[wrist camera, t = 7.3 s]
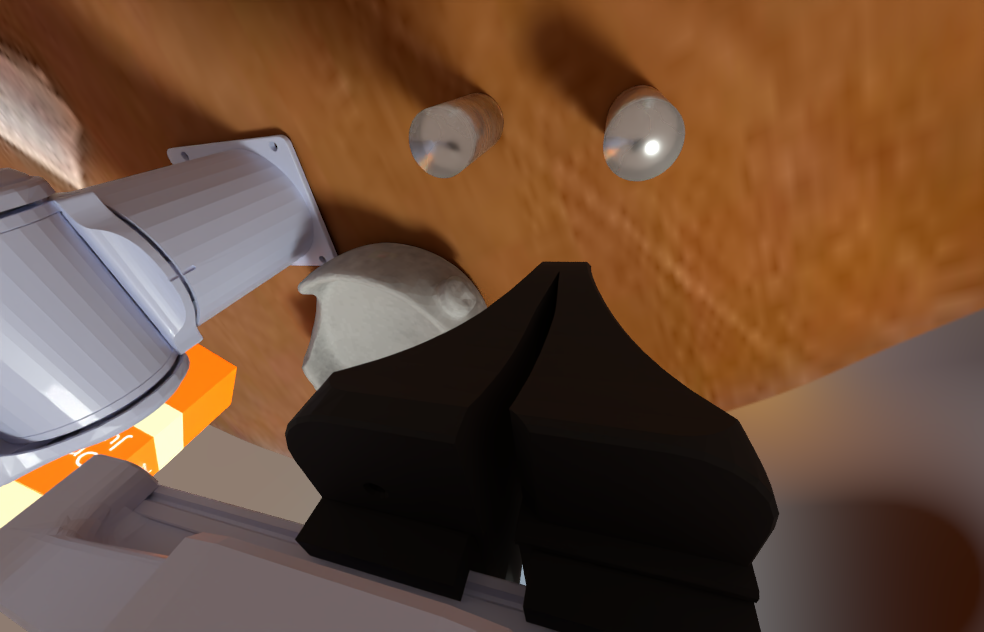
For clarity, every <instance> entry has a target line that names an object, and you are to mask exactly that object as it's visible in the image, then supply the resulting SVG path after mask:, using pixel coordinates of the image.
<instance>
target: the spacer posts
mask: <svg viewBox="0 0 984 632" xmlns="http://www.w3.org/2000/svg"><path fill="white" fill-rule="evenodd" d="M503 125H504V120H503V115H502V111H501V109H500V107H499V105H498V104H497V102H496V101H495V100H494V99H493V98H491V97H490V96H488V95H486V94H483V93H473V94H470V95H466V96H463V97H460V98H457V99H454V100H451V101H448V102H445V103H442V104H439V105H435V106H432V107H429V108H426V109H424V110H422V111H421V112H420V113H418V114H417V115H416V117H415V118H414V120H413V121H412V124H411V127H410V131H409V144H410V149H411V152H412V154H413V157H414V158H415V160H416V162H417V163H418V164H419V166H420V167H421V168H422V169H423V170H424V171H426V172H427V173H429V174H430V175H432V176H435V177H438V178H449V177H453V176H455V175H457V174H458V173H460V172H461V171H462V170H463V169H465V168H466V167H467V166H468V165H470V164H471V163H472V162H473V161H475V160H476V159H477V158H478V157H480V156H481V155H482V154H483V153H485V152H486V151H487V150H488V149H490V148H491V147H492V146H493V145H495V144H496V143H497V141H498V140H499V138H500V137H501V134H502V131H503ZM684 138H685V127H684V122H683V119H682V117H681V115H680V113H679V112H678V111H677V109H676V108H675V107H674V106H673V105H672V104H671V103H670V102H669V101H668V100H667V99H666V98H665V97H664V96H663V95H662V94H661V93H660V92H659V91H658V90H657V89H655V88H653V87H651V86H647V85H638V86H634V87H631V88H629V89H627V90H625V91H623V92H622V93H621V94H620V95H619V96H618V97H617V98H616V99H615V100H614V101H613V103H612V105H611V107H610V109H609V111H608V115H607V120H606V128H605V135H604V143H603V152H604V157H605V160H606V163H607V165H608V166H609V168H610V169H611V170H612V171H613V172H614V173H615V174H616V175H617V176H619V177H621V178H623V179H626V180H630V181H644V180H648V179H651V178H654V177H656V176H658V175H660V174H661V173H663V172H664V171H665V170H667V169H668V168H669V167H670V166H671V165H672V164H673V162H674V161H675V160H676V158H677V157H678V155H679V153H680V151H681V149H682V146H683V143H684Z"/></svg>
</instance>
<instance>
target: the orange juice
mask: <svg viewBox="0 0 984 632" xmlns="http://www.w3.org/2000/svg"><path fill="white" fill-rule="evenodd" d="M185 353H186V354H187V355H188V357H189V361H190V366H189V370H188V372H187V374H186V376H185V378H184V379H183V381H182V382H181V384H180V385H179V387H178V389H177V390H176V391H175V393H174V394H173V395H172V396H171V397H170V398H169V399H168V400H167V401H166V402H165V403H164V404H163V405H162V406H161V407H160V408H158V409H157V410H156V411H155V412H153V413H152V414H151V415H149V416H148V417H147V418H145V419H144V420H142V421H141V422H139V423H137V424H136V425H134V426H133V427H131V428H129V429H127V430H126V431H124V432H122V433H120V434H118V435H116V436H114V437H112V438H110V439H108V440H105V441H103V442H101V443H98V444H95V445H93V446H90V447H87V448H84V449H80V450H77V451H75V452H72V453H70V454H67V455H65V456H63V457H61V458H58V459H56V460H54V461H52V462H50V463H48V464H46V465H43V466H41V467H39V468H37V469H35V470H33V471H32V472H30V473H28V474H26V475H24V476H22V477H20V478H18V479H17V480H15V481H13V482H11V483H9V484H7V485H4V486H2V487H0V528H2V527H3V526H4V525H5V524H7V523H8V522H9V521H11V520H12V519H13V518H14V517H16V516H17V515H18V514H20V513H21V512H22V511H23V510H25V509H26V508H27V507H28V506H30V505H31V504H32V503H34V502H35V501H36V500H37V499H39V498H40V497H41V496H43V495H44V494H45V493H46V492H48V491H49V490H50V489H51V488H53V487H54V486H55V485H57V484H58V483H59V482H60V481H62V480H63V479H64V478H66V477H67V476H68V475H69V474H71V473H72V472H73V471H75V470H76V469H77V468H78V467H80V466H81V465H82V464H83V463H85V462H86V461H87V460H89V459H90V458H91V457H92V456H94V455H97V454H103V455H107V456H111V457H115V458H119V459H122V460H126V461H129V462H132V463H134V464H136V465H138V466H140V467H142V468H143V469H144V470H146V471H147V472H148V473H150V474H151V475H152V476H153V475H154V474H155V473H157V472H158V471H159V470H161V469H162V468H163V467H164V466H165V465H166V464H167V463H168V462H169V461H170V460H171V459H172V458H173V457H175V456H176V455H177V454H178V453H179V452H180V451H181V450H182V449H183V448H184V447H185V446H186V445H187V444H188V443H189V442H190V441H191V440H192V439H193V438H194V437H196V436H197V435H198V434H199V433H200V432H201V431H202V430H203V429H204V428H205V427H206V426H207V425H209V424H210V423H211V422H212V421H213V420H214V419H215V418H216V417H217V416H218V415H219V414H220V413H222V412H223V411H224V410H225V409H226V408H227V407H228V406H229V405H230V404H231V399H232V393H233V387H234V381H235V375H236V369H237V367H236V366H234V365H232V364H231V363H229V362H227V361H226V360H224V359H222V358H221V357H219V356H217V355H216V354H214V353H212V352H211V351H209V350H207V349H206V348H204V347H202V346H201V345H199V344H196V345H195V346H193V347H192V348H190V349H189V350H188V351H186V352H185Z"/></svg>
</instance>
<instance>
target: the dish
mask: <svg viewBox="0 0 984 632" xmlns="http://www.w3.org/2000/svg"><path fill="white" fill-rule="evenodd" d="M298 291H299V292H300V293H301V294H313V295H315V296H316V297H317V305H316V316H315V323H314V326H313V330H312V335H311V340H310V343H309V347H308V349H307V352H306V354H305V357H304V361H303V366H302V369H303V371H304V373H305V375H306V377H307V378H308V380H309V381H310V382H311V383H312V384H313V386H314V388H315V389H316V391H317V390H318V389H319V388H320V387H321V385H322V384H323V383H324V382H325V381H326V380H327V379H328V377H329V376H330V375H331V374H332V373H333V372H335V371H339V370H343V369H347V368H350V367H354V366H357V365H361V364H364V363H367V362H371V361H374V360H378V359H381V358H384V357H387V356H390V355H393V354H395V353H398V352H401V351H404V350H406V349H409V348H411V347H414V346H416V345H419V344H421V343H424V342H426V341H428V340H430V339H432V338H434V337H436V336H439V335H441V334H443V333H445V332H447V331H449V330H451V329H453V328H455V327H457V326H459V325H460V324H462V323H464V322H466V321H467V320H469V319H471V318H472V317H474V316H476V315H477V314H479V313H480V312H482V311H483V310H485V309H486V308H487V306H486V304H485V301H484V299H483V297H482V296H481V294H480V293H479V291H478V290H477V288H476V287H475V286H474V284H473V283H472V282H471V280H470V279H469V278H468V277H467V276H466V275H465V274H464V273H463V272H462V271H460V270H459V269H458V268H457V267H456V266H454V265H453V264H451V263H450V262H448V261H447V260H445V259H443V258H442V257H440V256H438V255H436V254H434V253H432V252H429V251H426V250H424V249H421V248H418V247H414V246H409V245H405V244H399V243H376V244H370V245H365V246H361V247H358V248H355V249H352V250H350V251H347V252H345V253H343V254H341V255H339V256H337V257H335V258H333V259H331V260H329V261H328V262H326V263H324V264H323V265H321V266H320V267H318V268H317V269H316V270H314V271H313V272H311V273H310V274H309V275H308V276H307V277H306V278H305V279H304V280H303V281H302V282H301V283H300V284H299V285H298Z"/></svg>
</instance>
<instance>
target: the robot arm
mask: <svg viewBox="0 0 984 632" xmlns="http://www.w3.org/2000/svg"><path fill="white" fill-rule="evenodd" d="M274 143H275V144H276V145H277V148H278V149H277V148H276V146H275V144H274ZM167 155H168V158H169V159H170V161H171V163H172V164H173V165H170V166H166V167H162V168H159V169H155V170H151V171H147V172H143V173H140V174H136V175H132V176H128V177H125V178H121V179H117V180H113V181H109V182H106V183H102V184H98V185H94V186H91V187H87V188H83V189H79V190H76V191H72V192H63V193H55V191H54V189H53V188H52V187H51V186H50V184H49V183H48V182H47V181H46V180H45V179H44V178H42V177H39V176H29V175H28V174H26V173H23V172H20V171H17V170H14V169H11V168H0V487H2V486H4V485H7V484H9V483H11V482H13V481H15V480H17V479H18V478H20V477H22V476H24V475H26V474H28V473H30V472H32V471H33V470H35V469H37V468H39V467H41V466H43V465H46V464H48V463H50V462H52V461H54V460H56V459H58V458H61V457H63V456H65V455H67V454H70V453H72V452H75V451H77V450H80V449H84V448H87V447H90V446H93V445H95V444H98V443H101V442H103V441H105V440H108V439H110V438H112V437H114V436H116V435H118V434H120V433H122V432H124V431H126V430H127V429H129V428H131V427H133V426H134V425H136V424H137V423H139V422H141V421H142V420H144V419H145V418H147V417H148V416H149V415H151V414H152V413H153V412H155V411H156V410H157V409H158V408H160V407H161V406H162V405H163V404H164V403H165V402H166V401H167V400H168V399H169V398H170V397H171V396H172V395H173V394H174V393H175V391H176V390H177V389H178V387H179V385H180V384H181V382H182V381H183V379H184V378H185V376H186V374H187V372H188V370H189V366H190V361H189V357H188V355H187V354H186V353H185V352H186V351H188V350H189V349H190V348H192V347H193V346H195V345H196V344H197V343H199V342H200V341H202V340H203V337H202V335H201V334H200V332H199V330H198V328H197V327H198V326H200V325H201V324H203V323H204V322H206V321H207V320H209V319H210V318H212V317H213V316H215V315H216V314H218V313H219V312H221V311H222V310H224V309H225V308H227V307H228V306H230V305H231V304H233V303H234V302H236V301H237V300H239V299H240V298H242V297H243V296H245V295H246V294H248V293H249V292H251V291H252V290H254V289H255V288H257V287H258V286H260V285H261V284H263V283H264V282H266V281H267V280H269V279H270V278H272V277H273V276H275V275H276V274H278V273H279V272H281V271H282V270H284V269H285V268H287V267H288V266H290V265H301V266H321V265H323V264H324V263H326V262H328V261H329V260H331V259H333V258H335V257H337V253H336V251H335V248H334V246H333V243H332V241H331V238H330V236H329V234H328V231H327V229H326V226H325V224H324V221H323V219H322V216H321V214H320V211H319V209H318V207H317V204H316V202H315V199H314V197H313V194H312V192H311V189H310V187H309V184H308V182H307V180H306V177H305V175H304V172H303V170H302V167H301V165H300V162H299V160H298V157H297V155H296V153H295V150H294V148H293V145H292V143H291V141H290V140H289V139H288V138H287V137H286V136H284V135H274V136H266V137H257V138H249V139H241V140H232V141H224V142H216V143H207V144H199V145H191V146H182V147H174V148H170V149H168V150H167ZM324 258H325V259H326V260H325V259H324ZM285 436H286V441H287V446H288V450H289V451H290V453H291V455H292V456H293V458H294V460H295V461H296V462H297V464H298V465H299V466H300V468H301V469H302V471H303V472H304V473H305V474H306V476H307V477H308V479H309V480H310V481H311V482H312V484H313V485H314V487H315V488H316V489H317V491H318V492H319V493H320V495H321V496H322V499H321V500H320V502H319V503H318V505H317V506H316V508H315V509H314V511H313V513H312V514H311V515H310V517H309V519H308V520H307V522H306V523H305V525H304V524H300V523H296V522H293V521H289V520H285V519H282V518H279V517H275V516H271V515H267V514H264V513H260V512H257V511H253V510H249V509H246V508H242V507H239V506H235V505H231V504H227V503H224V502H221V501H217V500H213V499H209V498H206V497H202V496H199V495H195V494H191V493H188V492H184V491H181V490H177V489H173V488H170V487H165V486H162V485H159V484H158V481H157V480H156V479H155V478H154V477H153V476H152V475H151V474H150V473H148V472H147V471H146V470H144V469H143V468H142V467H140V466H138V465H136V464H134V463H132V462H129V461H126V460H122V459H119V458H115V457H111V456H107V455H103V454H97V455H94V456H92V457H91V458H90V459H89V460H87V461H86V462H85V463H83V464H82V465H81V466H80V467H78V468H77V469H76V470H75V471H73V472H72V473H71V474H69V475H68V476H67V477H66V478H64V479H63V480H62V481H60V482H59V483H58V484H57V485H55V486H54V487H53V488H51V489H50V490H49V491H48V492H46V493H45V494H44V495H43V496H41V497H40V498H39V499H37V500H36V501H35V502H34V503H32V504H31V505H30V506H28V507H27V508H26V509H25V510H23V511H22V512H21V513H20V514H18V515H17V516H16V517H14V518H13V519H12V520H11V521H9V522H8V523H7V524H5V525H4V526H3V527H2V528H0V612H2V613H3V614H4V615H6V616H7V617H8V618H10V619H11V620H13V621H14V622H16V623H17V624H18V625H20V626H21V627H22V628H24V629H25V630H26V631H28V632H761V630H760V626H759V622H758V618H757V614H756V609H755V605H754V602H755V603H757V601H758V600H759V589H758V585H757V581H756V577H755V574H754V570H753V566H752V562H753V560H754V559H755V557H756V556H757V554H758V553H759V551H760V550H761V548H762V547H763V545H764V543H765V542H766V540H767V539H768V537H769V536H770V534H771V533H772V531H773V530H774V528H775V525H776V522H777V519H778V515H779V512H778V508H777V504H776V501H775V498H774V494H773V490H772V487H771V484H770V482H769V479H768V477H767V475H766V472H765V470H764V467H763V465H762V463H761V461H760V459H759V458H758V456H757V454H756V452H755V450H754V448H753V446H752V444H751V442H750V440H749V439H748V437H747V435H746V433H745V431H744V429H743V428H742V426H741V424H740V422H739V421H738V420H737V419H736V418H734V417H733V416H731V415H729V414H728V413H726V412H725V411H723V410H722V409H720V408H718V407H717V406H715V405H714V404H712V403H710V402H709V401H707V400H706V399H704V398H703V397H701V396H699V395H698V394H696V393H695V392H693V391H692V390H690V389H689V388H687V387H686V386H685V385H683V384H682V383H681V382H679V381H678V380H677V379H675V378H674V377H673V376H671V375H670V374H669V373H667V372H666V371H665V370H664V369H662V368H661V367H660V366H659V365H658V364H657V363H656V362H654V361H653V360H652V359H651V358H650V357H649V356H648V355H647V354H646V353H644V352H643V351H642V350H641V349H640V347H639V346H638V345H637V344H636V343H635V342H634V341H633V340H632V339H631V338H630V337H629V335H628V334H627V333H626V332H625V331H624V330H623V328H622V327H621V326H620V324H619V323H618V322H617V320H616V319H615V318H614V316H613V315H612V313H611V312H610V310H609V309H608V307H607V305H606V304H605V302H604V300H603V298H602V296H601V294H600V292H599V291H598V289H597V286H596V284H595V282H594V279H593V276H592V273H591V266H590V265H589V264H588V263H587V262H542V263H541V264H539V265H538V266H537V267H536V268H535V269H534V270H533V271H532V272H531V273H529V274H528V275H527V276H526V277H525V278H524V279H523V280H522V281H521V282H519V283H518V284H517V285H516V286H515V287H514V288H512V289H511V290H510V291H509V292H508V293H506V294H505V295H504V296H502V297H501V298H500V299H498V300H497V301H496V302H494V303H493V304H492V305H490V306H489V307H488V308H486V309H485V310H483V311H482V312H480V313H479V314H477V315H476V316H474V317H472V318H471V319H469V320H467V321H466V322H464V323H462V324H460V325H459V326H457V327H455V328H453V329H451V330H449V331H447V332H445V333H443V334H441V335H439V336H436V337H434V338H432V339H430V340H428V341H426V342H424V343H421V344H419V345H416V346H414V347H411V348H409V349H406V350H404V351H401V352H398V353H395V354H393V355H390V356H387V357H384V358H381V359H378V360H374V361H371V362H367V363H364V364H361V365H357V366H354V367H350V368H347V369H343V370H339V371H335V372H333V373H332V374H331V375H330V376H329V377H328V379H327V380H326V381H325V382H324V383H323V384H322V385H321V387H320V388H319V389H318V390H317V391H316V392H315V394H314V395H313V396H312V397H311V398H310V399H309V400H308V402H307V403H306V404H305V405H304V406H303V407H302V408H301V410H300V411H299V412H298V413H297V414H296V415H295V417H294V418H293V419H292V420H291V421H290V422H289V423H288V425H287V429H286V432H285ZM522 565H523V570H524V576H525V581H526V586H525V585H522V584H520V577H521V569H522Z"/></svg>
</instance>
